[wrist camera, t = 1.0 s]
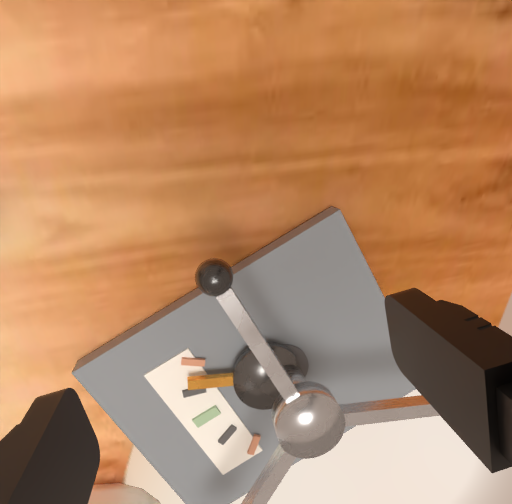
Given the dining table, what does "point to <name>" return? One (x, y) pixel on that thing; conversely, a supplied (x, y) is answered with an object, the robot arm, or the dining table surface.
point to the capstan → (287, 391)
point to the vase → (119, 495)
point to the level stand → (232, 346)
